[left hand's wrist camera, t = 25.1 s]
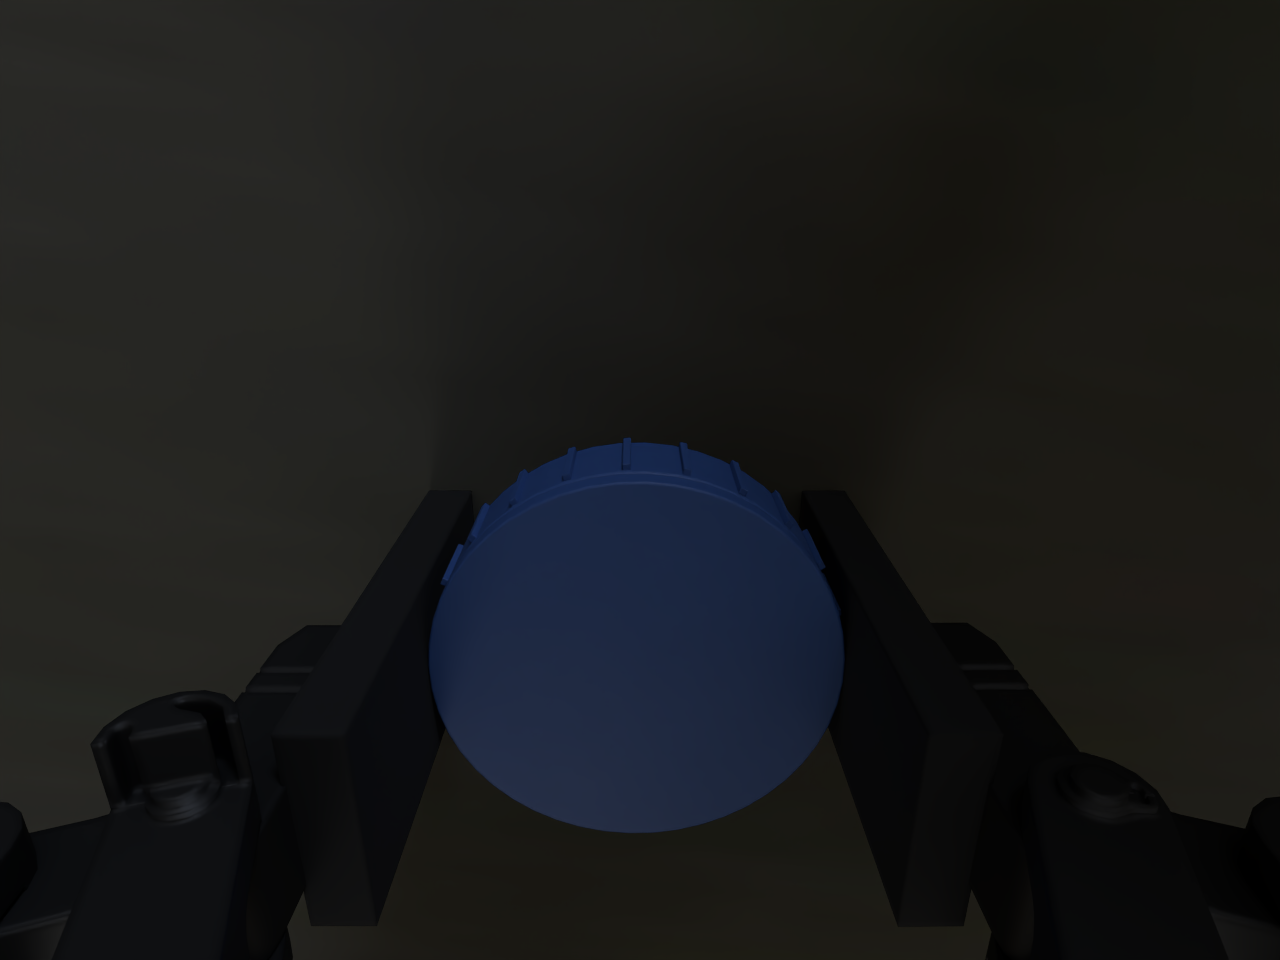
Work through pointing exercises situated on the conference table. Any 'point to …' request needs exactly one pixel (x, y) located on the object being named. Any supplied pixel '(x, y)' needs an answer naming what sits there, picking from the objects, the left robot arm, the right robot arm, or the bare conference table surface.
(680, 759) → the lid
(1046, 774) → the left robot arm
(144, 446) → the conference table surface
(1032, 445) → the conference table surface
